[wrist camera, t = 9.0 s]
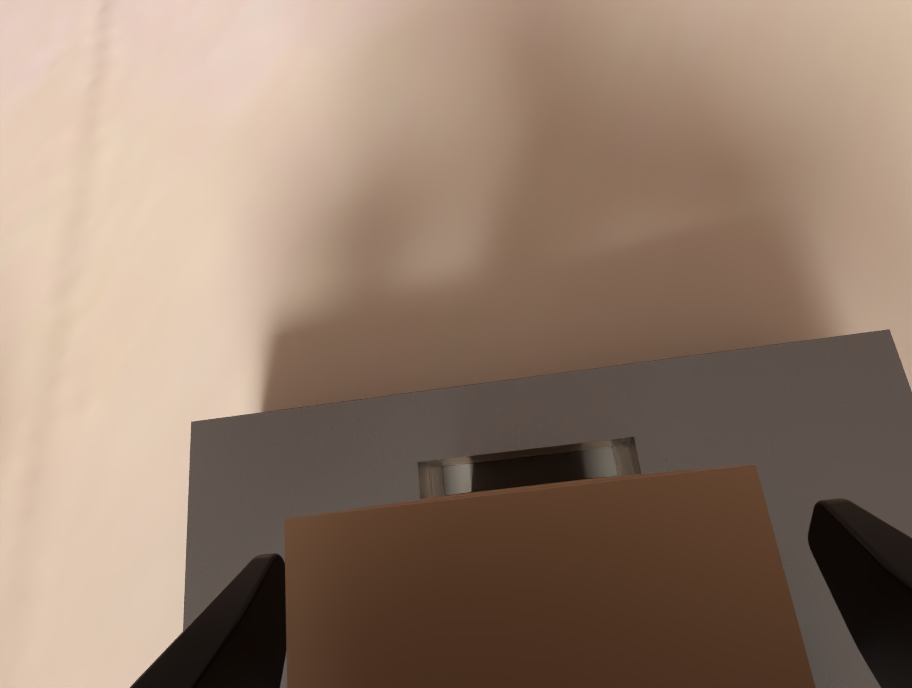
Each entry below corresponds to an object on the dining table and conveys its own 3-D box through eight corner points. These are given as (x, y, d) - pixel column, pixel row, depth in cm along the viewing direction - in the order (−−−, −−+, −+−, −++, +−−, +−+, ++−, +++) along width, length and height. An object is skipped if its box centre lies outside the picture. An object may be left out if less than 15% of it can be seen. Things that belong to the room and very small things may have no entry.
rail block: (914, 701, 15) (1049, 778, 11) (257, 737, 17) (176, 812, 13) (811, 363, 17) (889, 329, 14) (258, 433, 20) (191, 421, 16)
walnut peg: (609, 607, 16) (943, 1163, 3) (485, 617, 17) (295, 1142, 3) (586, 478, 17) (755, 464, 4) (471, 492, 18) (284, 519, 5)
